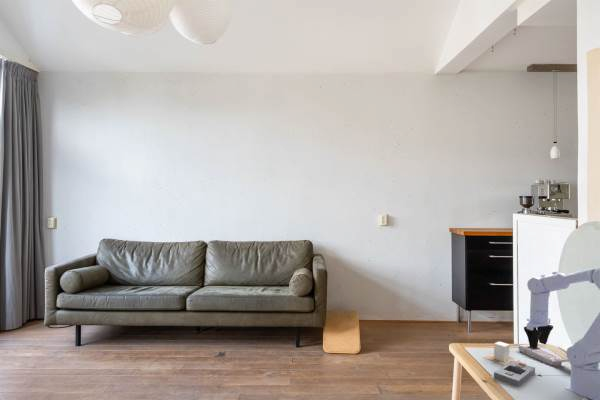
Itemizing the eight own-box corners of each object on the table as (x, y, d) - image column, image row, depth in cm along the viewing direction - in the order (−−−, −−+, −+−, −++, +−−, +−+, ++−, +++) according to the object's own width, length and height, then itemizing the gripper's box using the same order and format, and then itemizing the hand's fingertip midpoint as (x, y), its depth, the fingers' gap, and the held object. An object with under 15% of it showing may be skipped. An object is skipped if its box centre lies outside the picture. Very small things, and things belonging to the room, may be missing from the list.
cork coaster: (519, 362, 150) (519, 360, 150) (507, 367, 144) (507, 366, 144) (495, 353, 158) (495, 352, 158) (483, 358, 152) (483, 357, 152)
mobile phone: (572, 360, 139) (513, 335, 163) (571, 376, 139) (512, 349, 163) (583, 358, 141) (523, 334, 165) (582, 374, 142) (523, 347, 165)
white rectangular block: (509, 359, 151) (509, 344, 151) (504, 361, 148) (504, 346, 148) (498, 356, 154) (499, 341, 154) (493, 358, 151) (494, 343, 151)
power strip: (511, 368, 145) (511, 358, 145) (534, 375, 139) (535, 366, 139) (493, 380, 135) (494, 370, 135) (518, 389, 129) (518, 379, 129)
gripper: (536, 304, 150) (535, 338, 150) (518, 309, 142) (517, 345, 142) (556, 308, 144) (555, 344, 144) (539, 314, 136) (537, 352, 136)
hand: (538, 345), depth 143 cm, fingers open, 7 cm apart
